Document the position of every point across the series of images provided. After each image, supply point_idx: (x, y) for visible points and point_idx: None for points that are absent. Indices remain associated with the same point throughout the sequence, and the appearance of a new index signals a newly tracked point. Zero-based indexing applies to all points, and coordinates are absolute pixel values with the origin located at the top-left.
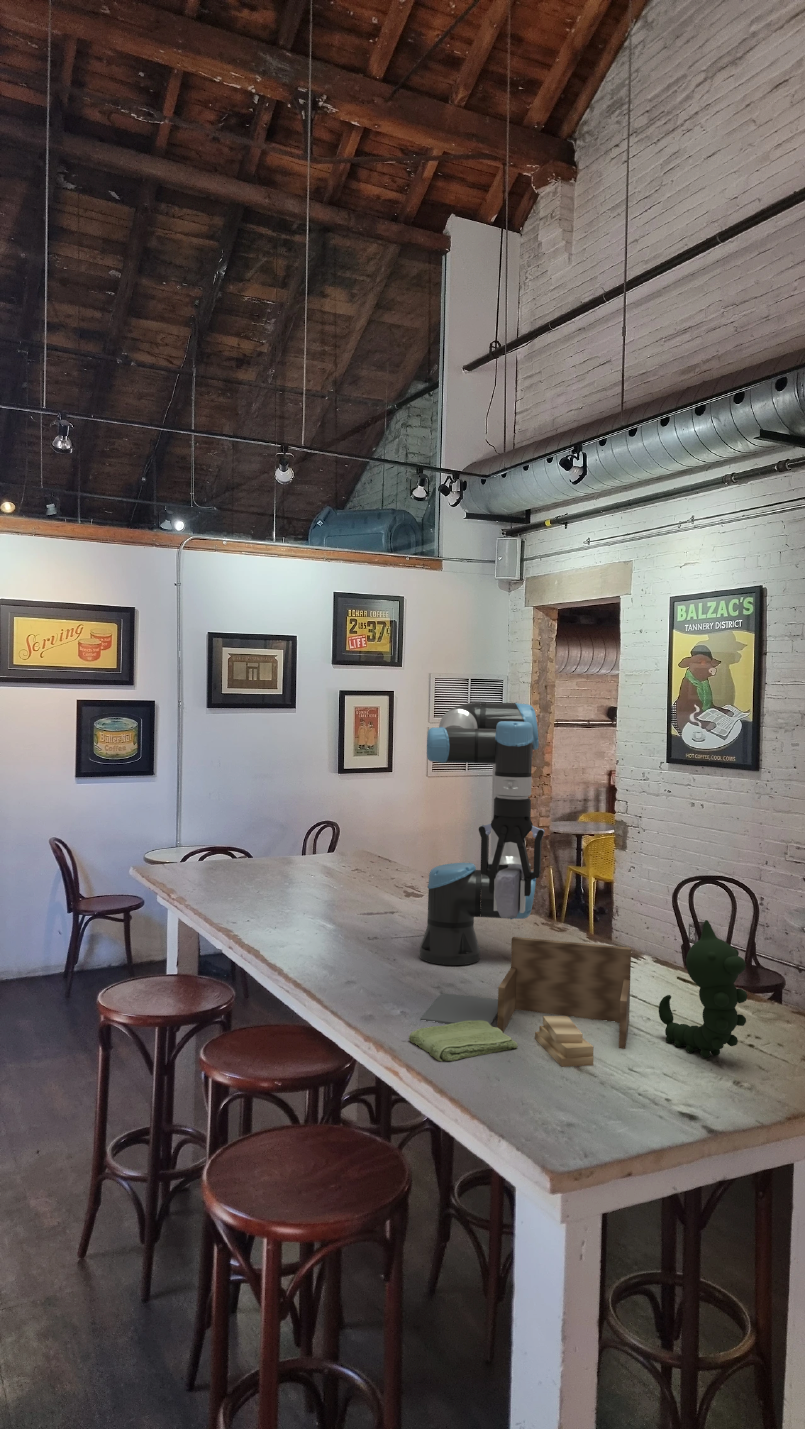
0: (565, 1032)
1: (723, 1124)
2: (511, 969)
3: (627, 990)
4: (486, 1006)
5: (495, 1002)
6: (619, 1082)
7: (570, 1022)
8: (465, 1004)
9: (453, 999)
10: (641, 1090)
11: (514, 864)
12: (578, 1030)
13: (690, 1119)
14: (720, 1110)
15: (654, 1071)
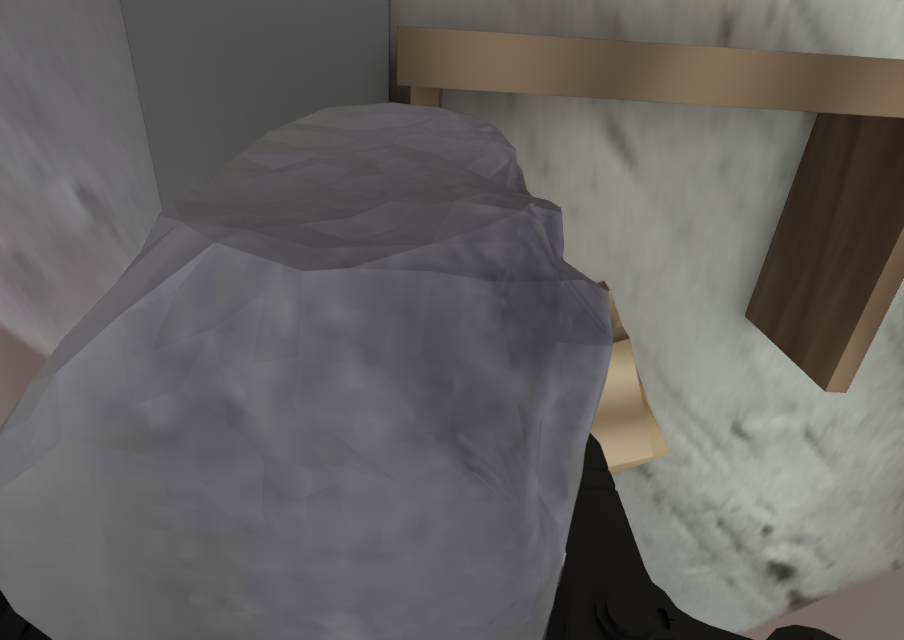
0: (609, 457)
1: (828, 582)
2: (418, 104)
3: (901, 275)
4: (337, 91)
5: (359, 23)
6: (694, 489)
7: (631, 387)
8: (257, 91)
9: (193, 38)
10: (729, 509)
11: (175, 513)
12: (646, 436)
13: (779, 579)
14: (849, 545)
15: (789, 426)
